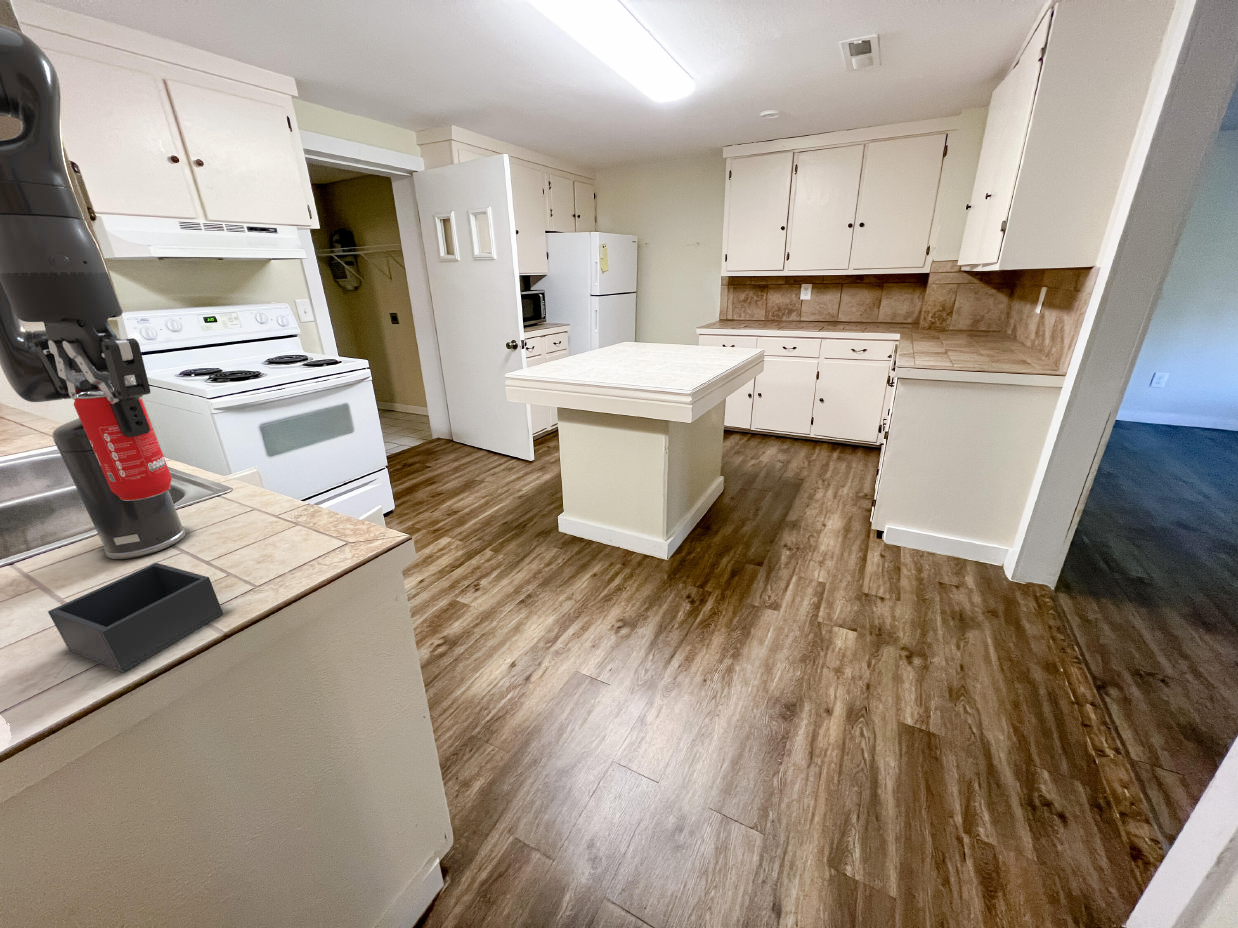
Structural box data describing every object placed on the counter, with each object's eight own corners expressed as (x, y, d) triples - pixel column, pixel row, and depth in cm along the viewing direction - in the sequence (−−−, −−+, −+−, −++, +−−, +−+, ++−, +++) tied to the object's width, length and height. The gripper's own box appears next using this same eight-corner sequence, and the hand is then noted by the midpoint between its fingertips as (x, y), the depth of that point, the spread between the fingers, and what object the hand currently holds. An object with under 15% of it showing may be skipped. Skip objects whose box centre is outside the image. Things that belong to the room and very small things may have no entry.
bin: (69, 650, 55) (47, 611, 53) (171, 597, 64) (156, 562, 62) (123, 672, 52) (102, 631, 50) (223, 613, 61) (209, 576, 59)
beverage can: (139, 503, 54) (95, 398, 50) (103, 500, 55) (56, 396, 51) (186, 485, 59) (149, 387, 54) (152, 482, 60) (113, 386, 55)
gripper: (144, 268, 49) (200, 428, 55) (62, 271, 54) (123, 419, 60) (42, 267, 42) (119, 450, 49) (-41, 271, 47) (39, 437, 53)
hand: (121, 432), depth 54 cm, fingers closed on beverage can, 5 cm apart
